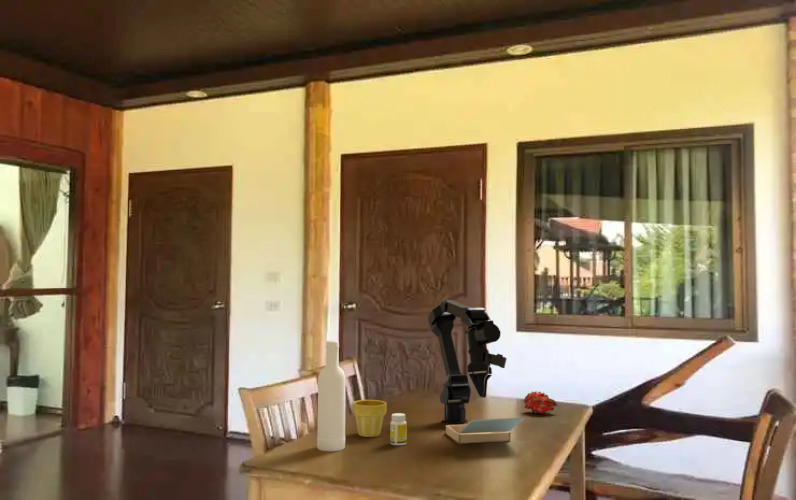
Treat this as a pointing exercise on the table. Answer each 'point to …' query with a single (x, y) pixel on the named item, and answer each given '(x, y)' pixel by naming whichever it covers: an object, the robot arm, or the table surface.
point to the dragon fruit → (539, 402)
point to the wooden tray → (475, 435)
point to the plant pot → (369, 416)
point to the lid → (491, 425)
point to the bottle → (331, 402)
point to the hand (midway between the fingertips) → (483, 397)
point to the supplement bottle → (398, 429)
